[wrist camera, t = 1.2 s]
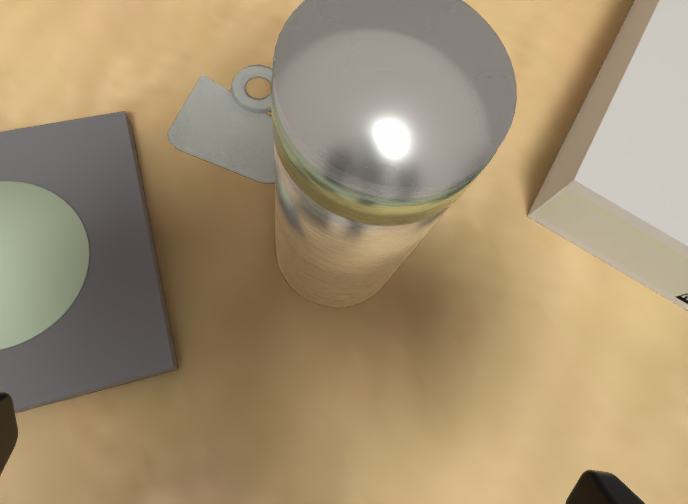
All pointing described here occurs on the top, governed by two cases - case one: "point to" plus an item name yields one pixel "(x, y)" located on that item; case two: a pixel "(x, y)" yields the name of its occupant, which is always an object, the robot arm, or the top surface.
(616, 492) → the robot arm
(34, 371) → the pad
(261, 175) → the mounting bracket
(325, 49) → the canister
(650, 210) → the disc drive
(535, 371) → the top surface
